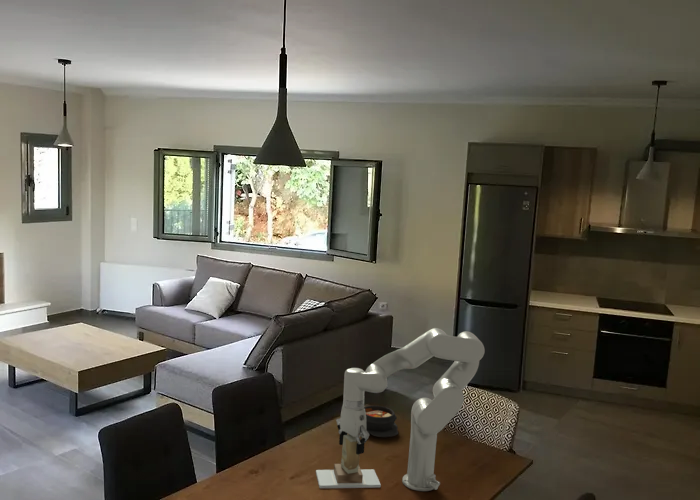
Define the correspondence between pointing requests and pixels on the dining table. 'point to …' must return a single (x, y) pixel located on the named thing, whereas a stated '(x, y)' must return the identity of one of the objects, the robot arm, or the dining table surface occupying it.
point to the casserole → (380, 421)
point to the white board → (329, 481)
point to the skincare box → (349, 454)
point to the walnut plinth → (347, 475)
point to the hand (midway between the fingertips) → (351, 448)
